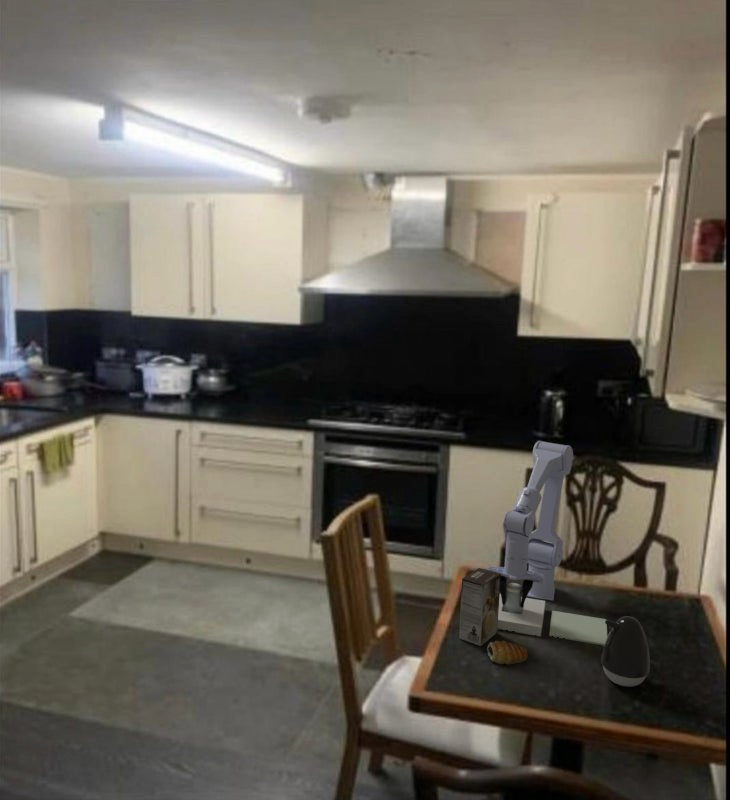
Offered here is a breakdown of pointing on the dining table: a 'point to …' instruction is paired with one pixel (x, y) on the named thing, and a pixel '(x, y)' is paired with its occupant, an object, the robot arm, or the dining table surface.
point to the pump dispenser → (626, 652)
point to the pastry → (506, 652)
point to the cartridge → (513, 598)
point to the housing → (523, 617)
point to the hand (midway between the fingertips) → (512, 604)
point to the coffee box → (479, 606)
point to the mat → (578, 628)
